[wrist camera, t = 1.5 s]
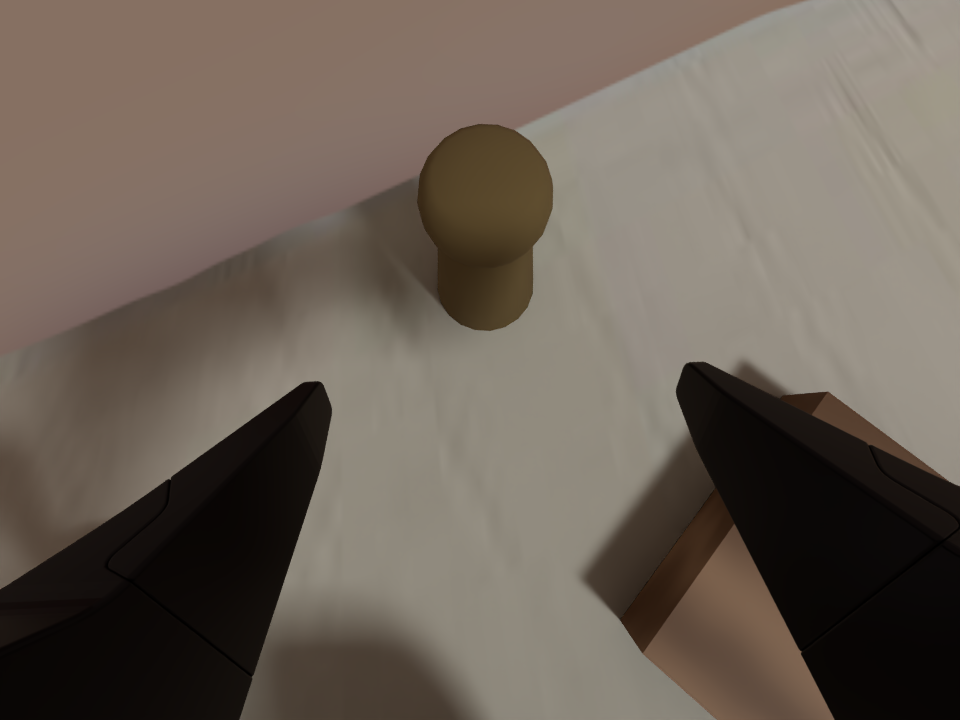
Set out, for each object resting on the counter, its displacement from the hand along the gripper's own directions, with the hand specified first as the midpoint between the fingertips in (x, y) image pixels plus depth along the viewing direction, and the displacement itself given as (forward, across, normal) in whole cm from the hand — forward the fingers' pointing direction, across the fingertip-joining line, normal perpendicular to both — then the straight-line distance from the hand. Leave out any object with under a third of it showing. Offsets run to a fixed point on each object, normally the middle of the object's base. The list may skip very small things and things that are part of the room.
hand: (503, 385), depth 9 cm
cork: (+15, 0, +4) cm, 15 cm away
